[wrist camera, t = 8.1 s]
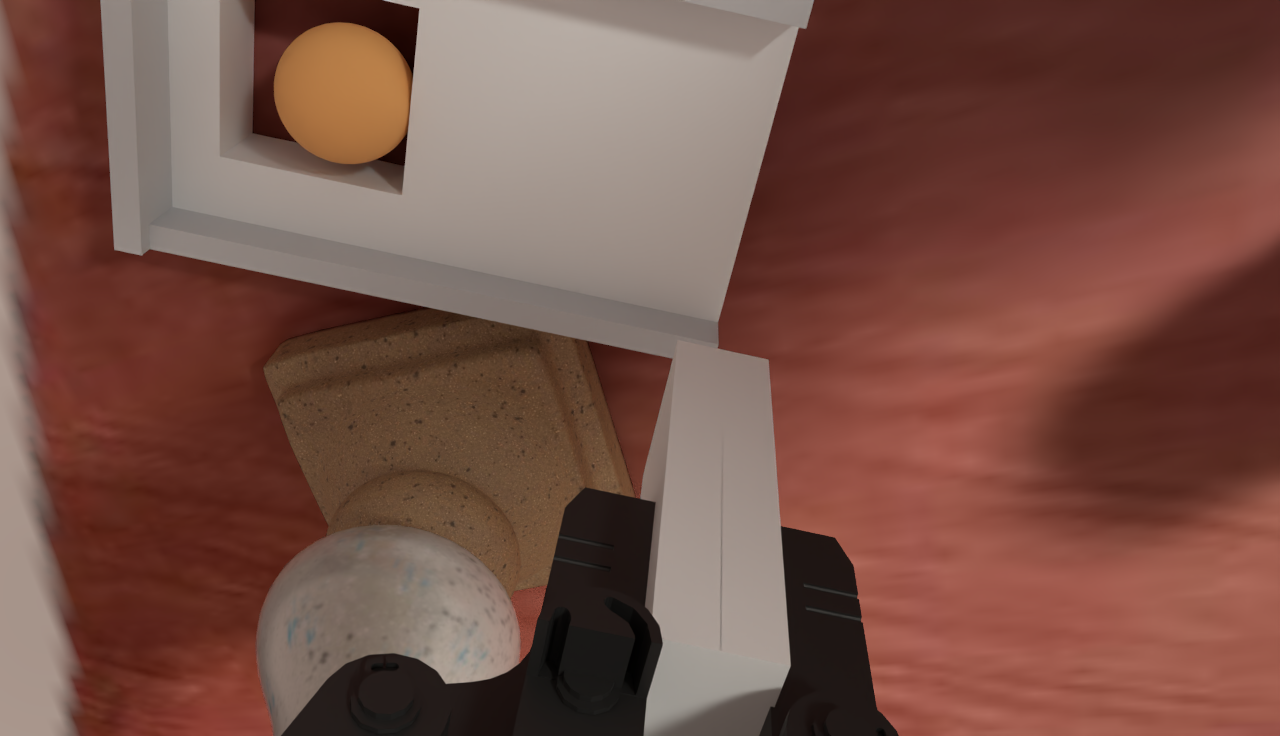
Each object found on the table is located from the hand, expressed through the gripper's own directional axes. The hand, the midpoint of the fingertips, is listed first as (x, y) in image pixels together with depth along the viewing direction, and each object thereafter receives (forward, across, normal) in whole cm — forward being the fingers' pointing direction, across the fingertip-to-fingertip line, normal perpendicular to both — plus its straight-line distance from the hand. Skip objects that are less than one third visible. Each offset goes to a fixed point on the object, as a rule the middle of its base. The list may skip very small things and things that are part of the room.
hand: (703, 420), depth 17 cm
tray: (+17, -8, -1) cm, 18 cm away
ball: (+15, -11, -1) cm, 18 cm away
